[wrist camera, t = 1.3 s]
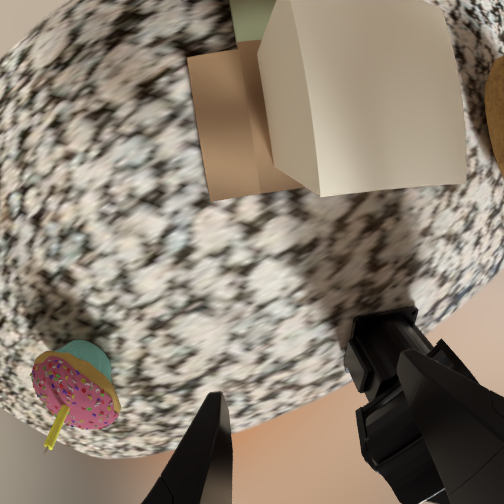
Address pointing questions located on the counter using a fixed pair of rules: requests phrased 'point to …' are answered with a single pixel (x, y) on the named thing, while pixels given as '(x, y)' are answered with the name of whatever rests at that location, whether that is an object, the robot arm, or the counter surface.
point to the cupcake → (76, 388)
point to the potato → (496, 109)
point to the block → (362, 95)
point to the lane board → (236, 111)
